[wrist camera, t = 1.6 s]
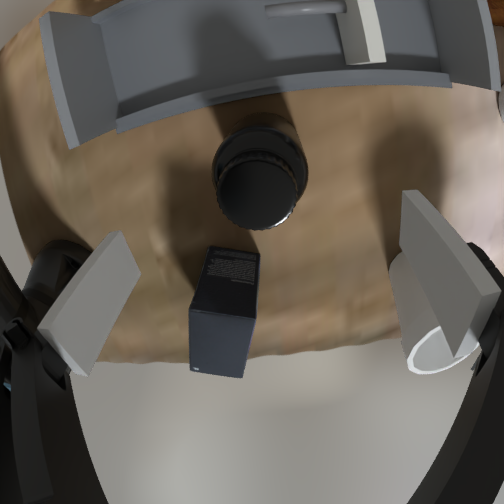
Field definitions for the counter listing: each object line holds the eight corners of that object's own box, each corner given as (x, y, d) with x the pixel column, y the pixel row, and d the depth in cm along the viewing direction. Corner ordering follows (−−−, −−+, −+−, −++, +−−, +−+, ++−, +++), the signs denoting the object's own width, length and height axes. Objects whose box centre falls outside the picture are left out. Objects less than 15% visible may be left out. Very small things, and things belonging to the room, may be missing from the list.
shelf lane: (120, 132, 26) (72, 157, 19) (92, 19, 19) (38, 12, 11) (448, 87, 20) (501, 100, 13) (423, -32, 13) (468, -53, 6)
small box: (250, 316, 39) (244, 381, 31) (203, 308, 39) (187, 372, 31) (263, 253, 33) (259, 322, 25) (207, 244, 33) (184, 309, 25)
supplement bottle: (218, 123, 25) (181, 157, 16) (288, 103, 24) (299, 122, 14) (240, 186, 29) (222, 254, 19) (307, 170, 27) (326, 231, 18)
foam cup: (412, 302, 36) (442, 377, 26) (363, 283, 35) (388, 369, 24) (453, 251, 31) (500, 323, 20) (406, 223, 30) (456, 302, 19)
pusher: (278, 71, 21) (279, 68, 16) (255, -25, 16) (249, -54, 10) (358, 64, 20) (386, 62, 14) (336, -31, 15) (355, -58, 9)
